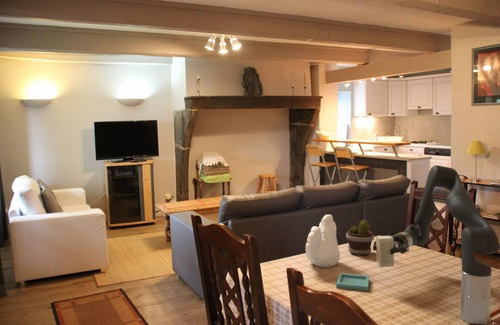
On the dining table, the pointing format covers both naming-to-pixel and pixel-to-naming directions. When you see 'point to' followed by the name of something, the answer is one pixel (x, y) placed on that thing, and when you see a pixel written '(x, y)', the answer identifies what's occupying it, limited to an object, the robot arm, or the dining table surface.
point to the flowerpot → (360, 239)
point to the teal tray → (353, 282)
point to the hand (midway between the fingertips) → (382, 250)
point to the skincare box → (384, 251)
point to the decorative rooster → (323, 243)
